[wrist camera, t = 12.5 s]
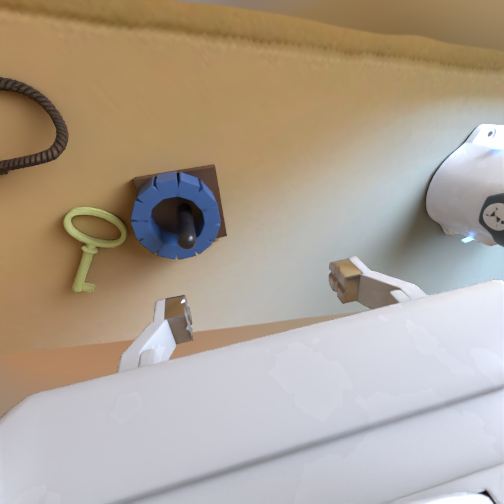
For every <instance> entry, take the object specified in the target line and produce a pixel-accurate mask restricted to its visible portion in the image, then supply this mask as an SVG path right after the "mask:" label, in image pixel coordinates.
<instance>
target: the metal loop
mask: <svg viewBox="0 0 504 504" xmlns="http://www.w3.org/2000/svg"><path fill="white" fill-rule="evenodd" d="M0 90H7V91H13V92H18V93H20V94H23V95H25V96H28V97H29V98H31V99H33V100H34V101H36V102H37V103H38V104H39V105H41V106H42V107H43V108H44V109H45V111H46V112H47V113H48V114H49V115H50V117H51V119H52V121H53V123H54V124H55V127H56V133H57V135H56V139H55V142H54V144H53V145H52V146H51V147H50V148H49V149H47V150H44V151H42V152H39V153H37V154H33V155H28V156H24V157H19V158H14V159H10V160H4V161H0V175H3V174H8V172H7V171H9V170H14V169H20V168H25V167H30V166H35V165H39V164H42V163H46V162H50V161H52V160H55V159H57V157H59V155H60V154H61V153H62V152H63V151H64V150H65V148H66V146H67V142H68V130H67V126H66V124H65V121H64V120H63V118H62V116H61V115H60V113H59V111H58V110H57V109H56V108H55V106H54V105H53V104H52V103H51V101H49V100H48V99H47V98H46V97H45V96H44V95H43V94H41V93H40V92H39V91H37V90H35V89H34V88H32V87H31V86H28V85H26V84H24V83H22V82H18V81H16V80H11V79H8V78H2V77H0Z"/></svg>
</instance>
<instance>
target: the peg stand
mask: <svg viewBox="0 0 504 504" xmlns="http://www.w3.org/2000/svg"><path fill="white" fill-rule="evenodd" d="M171 172H174V171H171ZM180 172H182V173H185V174H188V175H191V176H194V177H197V178H198V181H200V180H201V181H202V182H203V183H204V184H205V185H206V186H207V187H208V188H209V190H210V191H211V192H212V193H213V196H214V197H215V200H216V203H217V206H218V210H219V216H220V221H221V222H220V228H219V231H218V233H217V236H216V238H219V237H224V236H227V234H226V228H225V222H224V216H223V210H222V204H221V198H220V193H219V187H218V181H217V175H216V169H215V166H214V165H208V166H201V167H195V168H189V169H183V170H177V171H176V173H177V177H178V176H179V173H180ZM165 173H169V172H165ZM159 174H163V173H159ZM152 177H155V178H156V179H157V174H153V175H147V176H141V177H135V178H134V180H133V181H134V184H135V187H136V190H137V193H138V191H140V188H141V187H142V186H143V185H144V184H145V183H146V182H148V181H149V180H150V179H151V178H152ZM152 215H153V219H154V222H155V223H156V224H157V225H158V226H160V227H161V228H162V229H163V230H164V231H167V232H171V233H175V234H177V242H178V245H179V246H180V247H181V248H182V249H185V250H189V249H192V248H193V247H194V246H195V245H196V233H195V226H196V225H197V224H198V223H199V220H200V217H201V215H202V211H201V210H200V209H199V208H198V207H197V205H196V204H195V203H194V202H193V201H191V200H188V199H184V198H181V197H173V198H168V199H163V200H162V201H161V202H160V203H158V204H157V205H156V206H155V207H154V208H153V209H152Z"/></svg>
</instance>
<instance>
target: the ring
mask: <svg viewBox="0 0 504 504" xmlns="http://www.w3.org/2000/svg"><path fill="white" fill-rule="evenodd" d="M173 197H181V198H184V199H188V200H191V201H193V202H194V203H195V204H196V205H197V207H198V208H199V209H200V210H201V211H202V215H201V217H200V220H199V223H198V224H197V225H196V226H195V233H196V245H195V246H194V247H193V248H192V249H189V250H185V249H182V248H181V247H180V246H179V245H178V242H177V234H175V233H171V232H167V231H164V230H163V229H162V228H161V227H160V226H158V225H157V224H156V223H155V222H154V219H153V215H152V209H153V208H154V207H155V206H156V205H157V204H158V203H160V202H161V201H162V200H163V199H168V198H173ZM131 219H132V220H131V225H132V227H133V230H134V233H135V235H136V238H137V239H140V243H141V244H142V245H143V246H144V247H146V248H147V249H148V250H149V251H151V252H152V253H153V254H154V253H155V252H157V256H161V257H166V258H170V259H175V258H176V255H177V256H178V259H184V258H188V257H193V256H196V252H197V253H198V254H200V253H201V252H203V251H204V250H205V249H206V248H208V247H209V246H210V245H211V244H212V241H215V238H216V236H217V233H218V231H219V228H220V222H221V221H220V216H219V210H218V206H217V203H216V200H215V197H214V196H213V193H212V192H211V191H210V190H209V188H208V187H207V186H206V185H205V184H204V183H203V182H202V181H201V180H200V181H198V178H197V177H194V176H191V175H188V174H185V173H182V172H180V173H179V176H178V177H177V173H176V171H174V172H169V173H163V174H157V179H156V178H155V177H152V178H151V179H150V180H149V181H148V182H146V183H145V184H144V185H143V186H142V187H141V188H140V191H138V193H137V196H136V199H135V203H134V207H133V211H132V215H131ZM211 240H212V241H211ZM195 251H196V252H195Z"/></svg>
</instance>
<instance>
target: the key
mask: <svg viewBox="0 0 504 504" xmlns="http://www.w3.org/2000/svg"><path fill="white" fill-rule="evenodd" d="M76 215H93V216H97V217H101V218H103V219H106V220H108V221H110V222H112V223H113V224H114V225H115V226H117V227H118V228H119V229H120V231H121V237H120V238H119V239H117V240H101V239H96V238H93V237H90V236H87V235H85V234H83V233H81V232H79V231H78V230H77V229H76V228H74V226H73V225H72V223H71V219H72V218H73V217H74V216H76ZM64 227H65V229H66V231H67V232H68V233H69V234H70V235H71V236H72V237H74V238H75V239H77V240H79V241H81V242H84V243H86V245H83V246H82V251H83V255H82V258H81V262H80V265H79V268H78V271H77V274H76V277H75V280H74V283H73V286H72V290H73V291H76V292H79V291H81V290H82V291H87V292H91V293H93V291H94V290H93V289H94V288H95V285H94V284H90V283H85V282H84V281H85V279H86V276H87V273H88V270H89V267H90V264H91V261H92V258H93V255H94V254H96V253H98V249H97V248H96V246H97V247H103V248H111V247H117V246H119V245H121V244H122V243H123V242H124V241H125V239H126V237H127V234H128V233H127V228H126V226H125V225H124V223H123V222H122V221H121V220H120V219H118V218H117V217H116V216H114V215H113V214H111V213H108V212H106V211H104V210H100V209H97V208H92V207H79V208H75V209H72V210H70V211H69V212H68V213H67V214H66V216H65V218H64Z"/></svg>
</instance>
